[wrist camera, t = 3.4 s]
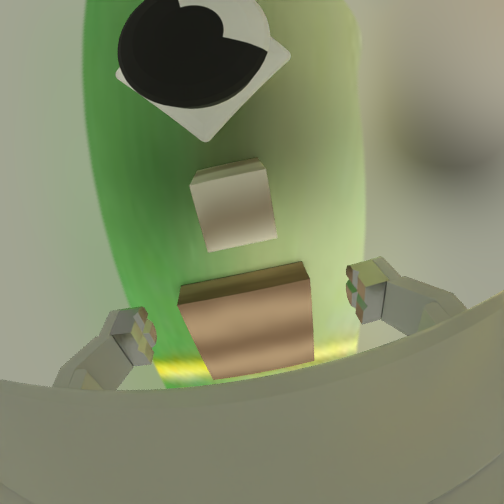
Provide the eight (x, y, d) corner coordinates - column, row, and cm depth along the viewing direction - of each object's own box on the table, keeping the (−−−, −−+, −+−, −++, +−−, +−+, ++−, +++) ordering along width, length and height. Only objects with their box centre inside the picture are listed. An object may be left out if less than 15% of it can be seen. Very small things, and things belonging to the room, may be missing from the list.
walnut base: (181, 285, 26) (177, 305, 24) (301, 261, 26) (309, 278, 24) (213, 360, 32) (213, 379, 29) (308, 342, 32) (314, 360, 29)
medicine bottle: (212, 136, 20) (196, 159, 9) (145, 85, 17) (67, 65, 7) (273, 72, 18) (326, 32, 7) (205, 21, 15) (189, -58, 5)
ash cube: (196, 170, 21) (189, 185, 17) (257, 157, 21) (266, 169, 17) (211, 225, 24) (208, 252, 19) (267, 213, 24) (277, 238, 19)
